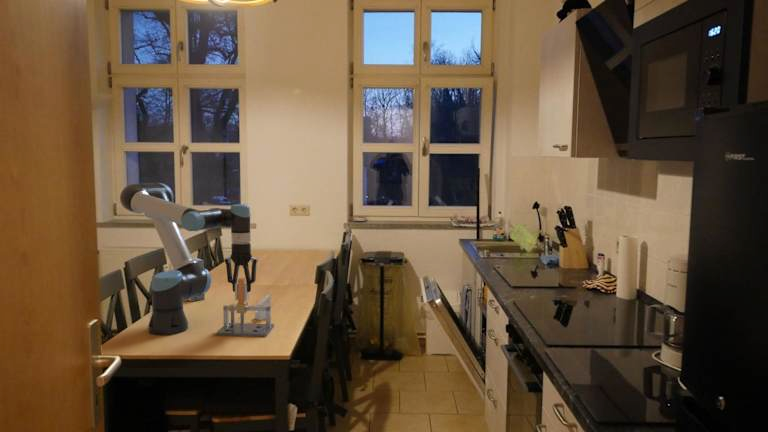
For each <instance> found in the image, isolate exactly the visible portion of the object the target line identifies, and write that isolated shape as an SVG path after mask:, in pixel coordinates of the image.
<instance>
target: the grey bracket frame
mask: <svg viewBox="0 0 768 432" xmlns="http://www.w3.org/2000/svg"><path fill="white" fill-rule="evenodd" d="M236 305H237V303H231V304H227V305H225V304H224V305H223V326H224V327H228V326H229V323H231V327H234V326H235V323H236V322H235V312H236ZM246 311H247V312H248V311H251V312H252V311H254V312H256V311H266V319H265V324H266V328H270V327H271V324H272V321H271V319H272V317H271V315H272V314H271V311H272V309H271V310H270V306H257V305H248V306H246ZM229 312H230V322H229Z"/></svg>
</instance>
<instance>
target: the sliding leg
mask: <svg viewBox="0 0 768 432" xmlns="http://www.w3.org/2000/svg"><path fill="white" fill-rule="evenodd" d="M237 283H238V300H237V303H236V310H235V312H236V314H240V323H241V326H244V323H245V314H246V313H248V311H246V306H249V304H248V301H246V300H245V284H246V277H245V278H244V277H243V278H242V277H240V278H239V277H238V278H237Z"/></svg>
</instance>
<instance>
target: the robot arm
mask: <svg viewBox="0 0 768 432" xmlns="http://www.w3.org/2000/svg"><path fill="white" fill-rule="evenodd" d="M173 193H174V192H173V191H172V189H171V188H170V187H169V186H168V185H167V184H165V183H162V182H150V183H132V184H129V185H126V186H125V187H124V188H123V189H122V191H121V193H120V194H119V201H120V204H121V206H122V207H123V208H124V209H125V210H127V211H129V212H132V213H134V214H139V215H140V214H144V215H145V217H146V218H147V219H150V220H151V221H152V224H153V226H154V228H155V230H156V232H157V234H158V237H159V239H160V242H161V244H162V246H163V248H164V250H165V253H166V255H167V257H168V260H169V262H170V264H171V266H172V268H173V269H171V270H165V271H164V270H163V271H161V272H158V273H156V274H154V275H153V277H152V278H151V286H150V288H151V306H152V307H151V309H152V310H151V311H152V313H151V315H150V319H149V322H148V326H147V327H148V328H147V329H148V333H149V334H152V335H156V336H157V335H158V336H165V335H167V336H168V335H174V334H178V333H183V332H186V330H188V328H189V322H188V319H187V316H186V313H185V311H184V301H187V300H186V299H189V298H192V297H196V296H200V295H202V294H204V293H205V294H206V293H207V292H208V291H209V289H210V288H211V283H212V276H211V273H210V272H209V270H208V269H207V268H205V267H204V268H203V267H200V265H199V263H198V261H195V260H193V259H192V258H193V256H192V255H191V252H190V250H189V248H188V246H187V244H186V241H185V240H184V239H185V238H184V237H183V235H182V233H181V231H180V228H179V226H178V225H180V226H182V227H183V228H184V229H185V230H186V231H188V232H198V231H203V230H210V229H216V228H217V229H218V228H230V233H231V235H230V236H231V237H230V238H231V240H230V241H231V244H230V246H231V248H230V249H231V254H230V257H227V258H225V259H224V260H223V261H224V263H225V266H226V277H227V283H230V284H232V292H233V293H234V300H235V301H238V279H239V277H238V276H239V270H240V266H242V268H243V270H244V271H243V272H244V277H245V300H246V302H248V301H249V298H250V295H249V294H250V292H251V291H252V284H254V283H255V282H256V281H257V280H256V275H257V264H258V261H259V258H257V257H256V258H255V257H253V255H252V250H251V249H252V248H251V246H252V245H251V243H250V242H251V210H250V209H251V207H250V205H248V204H245V203H244V204H241V203H240V204H232V205H230V208H219V207H212V208H208V209H203V210H199V209H195V208H192V207H189V206H186V205H183V204H179V203H176V202H174V201H175V200H174V194H173ZM250 261H251V263H252V264H251V274H250V269H249V267H250V266H249V263H250ZM232 262H233V264H234V265H233V267H234V268H233V271H232Z"/></svg>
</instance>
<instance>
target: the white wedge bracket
mask: <svg viewBox="0 0 768 432" xmlns="http://www.w3.org/2000/svg"><path fill="white" fill-rule="evenodd" d="M271 303H272V302H271V295H270V294H267V295H266V296H264V297H263V298H262V299H261V300H260V301H259V302H258V303H257V305H256V306H270V310H271V311H272V309H271V308H272V307H271ZM254 319H255V320H259V321H262V320H266V311H254Z"/></svg>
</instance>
